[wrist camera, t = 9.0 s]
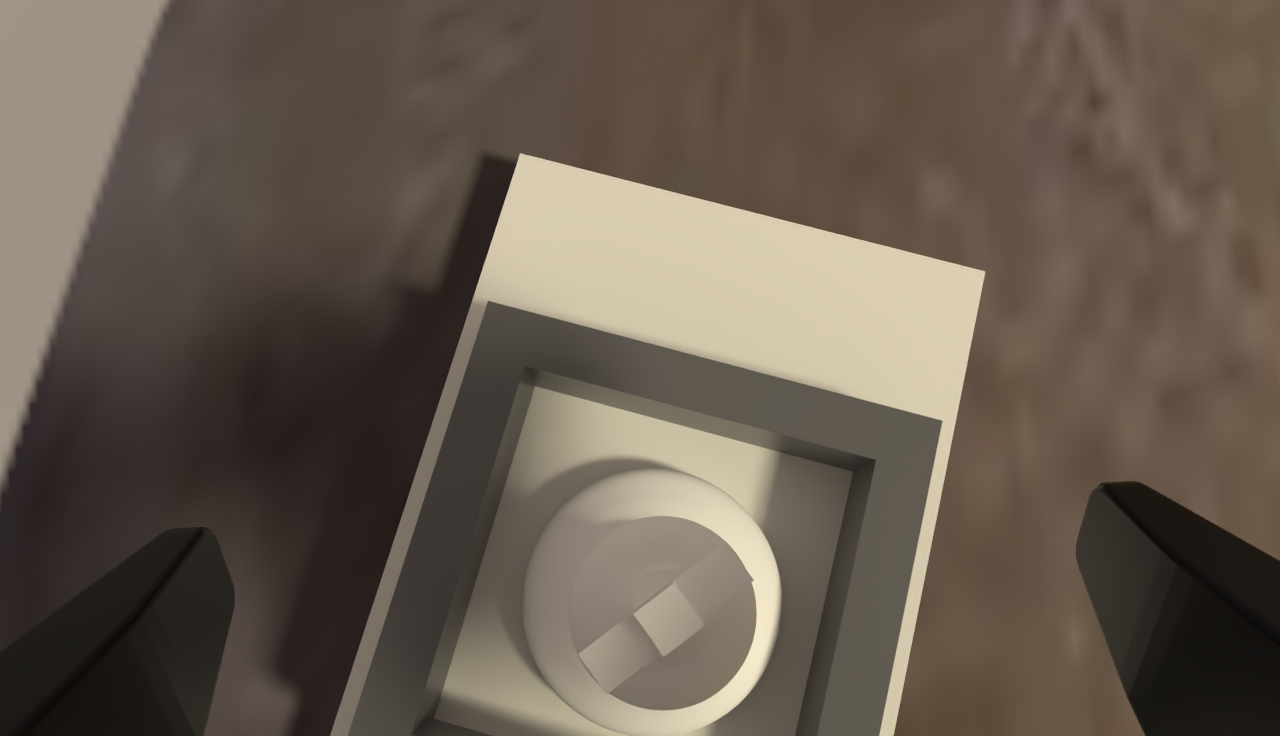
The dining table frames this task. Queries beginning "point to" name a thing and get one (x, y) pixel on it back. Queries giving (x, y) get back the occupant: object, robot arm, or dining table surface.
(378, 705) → the board
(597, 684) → the chess piece
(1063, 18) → the dining table surface
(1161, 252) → the dining table surface
